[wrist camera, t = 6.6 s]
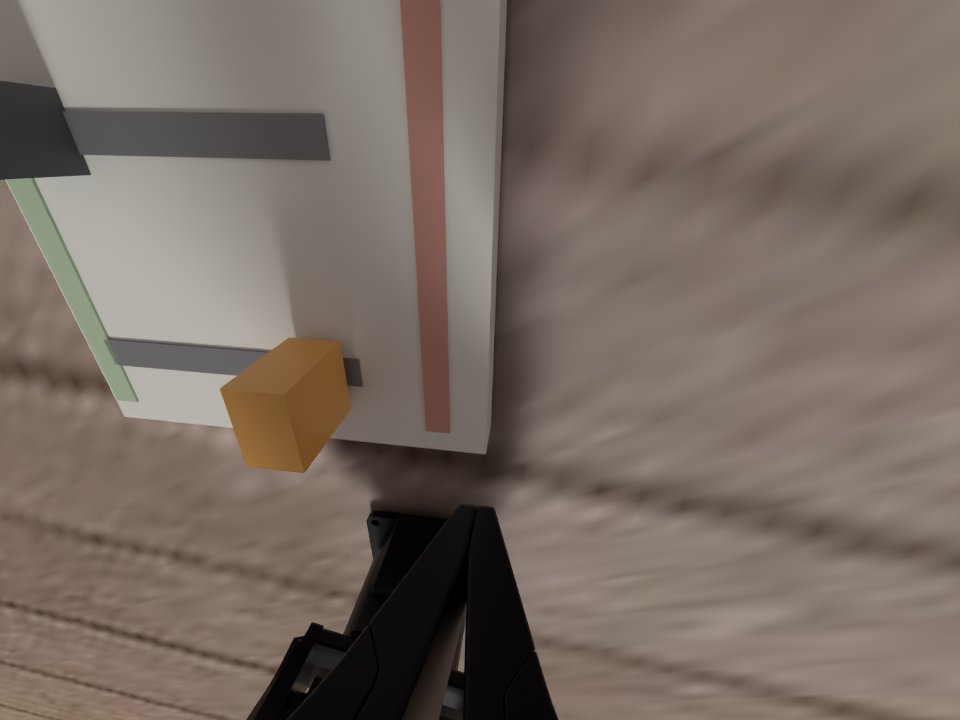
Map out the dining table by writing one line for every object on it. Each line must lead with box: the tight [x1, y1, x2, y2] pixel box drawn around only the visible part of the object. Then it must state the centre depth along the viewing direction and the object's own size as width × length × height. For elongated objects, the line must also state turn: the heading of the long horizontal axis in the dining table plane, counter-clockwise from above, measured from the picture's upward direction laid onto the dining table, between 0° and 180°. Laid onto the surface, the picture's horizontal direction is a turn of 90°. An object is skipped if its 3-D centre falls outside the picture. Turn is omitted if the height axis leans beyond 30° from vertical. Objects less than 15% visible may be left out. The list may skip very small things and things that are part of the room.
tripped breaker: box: [220, 338, 351, 473], centre depth 14 cm, size 3×2×4 cm, turn 179°
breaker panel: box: [0, 0, 507, 454], centre depth 12 cm, size 21×17×5 cm
